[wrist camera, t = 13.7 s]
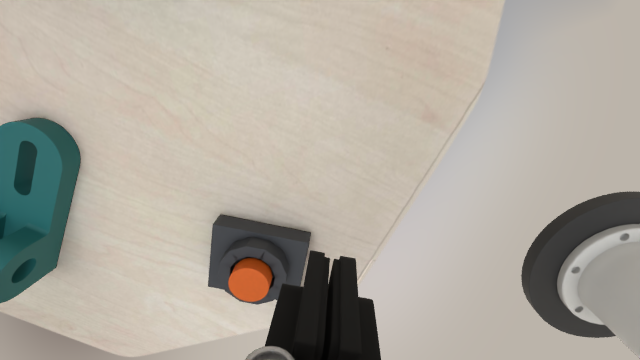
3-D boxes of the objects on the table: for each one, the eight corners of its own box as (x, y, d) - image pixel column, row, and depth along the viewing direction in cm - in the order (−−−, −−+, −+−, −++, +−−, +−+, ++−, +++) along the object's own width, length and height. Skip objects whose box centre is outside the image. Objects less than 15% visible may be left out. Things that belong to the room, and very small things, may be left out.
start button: (275, 261, 31) (271, 272, 29) (269, 293, 32) (266, 305, 31) (235, 254, 31) (229, 264, 29) (232, 286, 32) (226, 297, 31)
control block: (310, 232, 34) (307, 253, 30) (298, 290, 37) (294, 316, 33) (220, 214, 34) (205, 233, 30) (215, 274, 36) (200, 298, 33)
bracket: (55, 267, 37) (-14, 317, 30) (-1, 244, 37) (-86, 289, 29) (86, 137, 31) (9, 159, 24) (19, 105, 31) (-82, 119, 23)
